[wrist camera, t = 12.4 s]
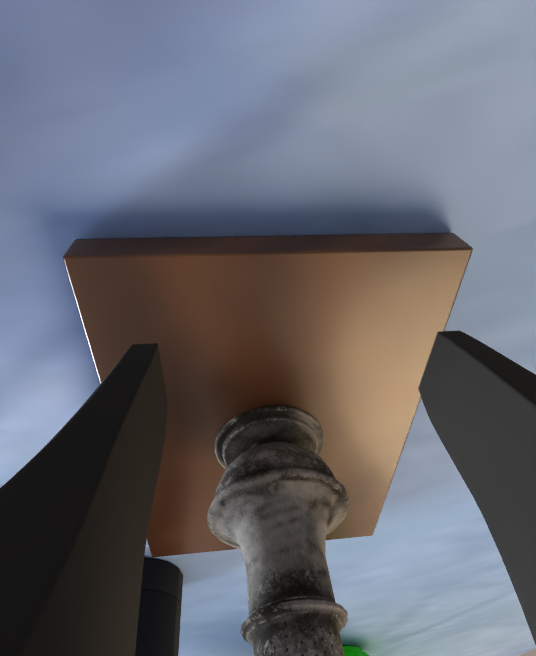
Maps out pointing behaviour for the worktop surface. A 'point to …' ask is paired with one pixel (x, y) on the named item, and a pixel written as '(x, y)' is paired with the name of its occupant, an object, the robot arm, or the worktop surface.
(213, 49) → the worktop surface
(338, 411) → the cutting board
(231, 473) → the grey stone baluster
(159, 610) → the black bottle
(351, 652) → the plastic bottle
